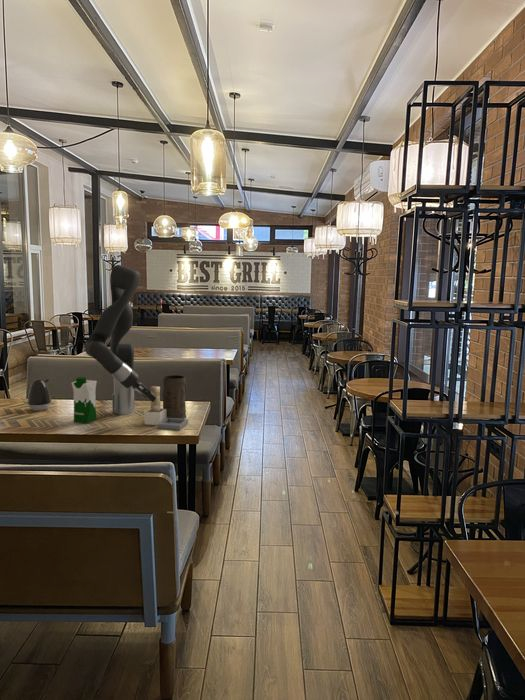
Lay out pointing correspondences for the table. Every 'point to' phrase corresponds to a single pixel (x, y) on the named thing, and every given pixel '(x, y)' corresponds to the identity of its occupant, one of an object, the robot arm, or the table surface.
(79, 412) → the milk carton
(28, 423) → the table surface
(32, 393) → the dark grey rounded piece
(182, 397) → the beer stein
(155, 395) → the birch pin
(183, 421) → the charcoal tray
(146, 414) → the light grey square box
